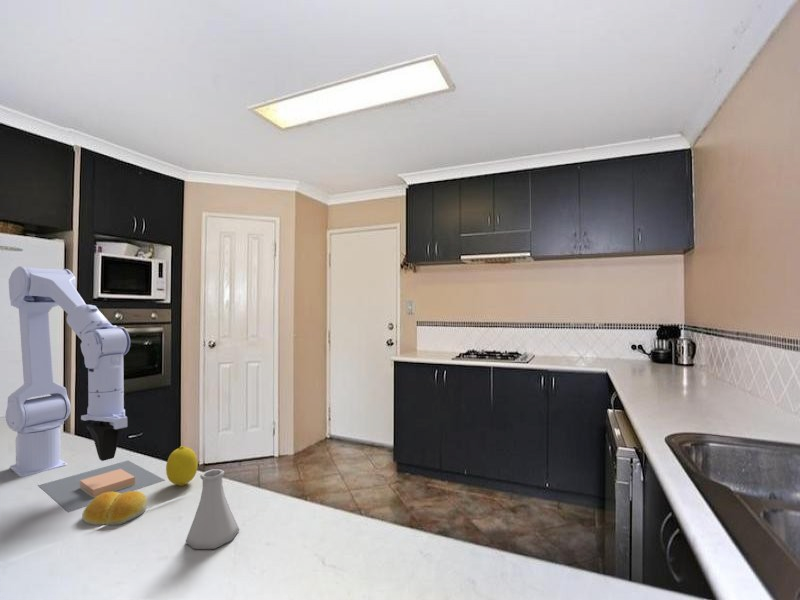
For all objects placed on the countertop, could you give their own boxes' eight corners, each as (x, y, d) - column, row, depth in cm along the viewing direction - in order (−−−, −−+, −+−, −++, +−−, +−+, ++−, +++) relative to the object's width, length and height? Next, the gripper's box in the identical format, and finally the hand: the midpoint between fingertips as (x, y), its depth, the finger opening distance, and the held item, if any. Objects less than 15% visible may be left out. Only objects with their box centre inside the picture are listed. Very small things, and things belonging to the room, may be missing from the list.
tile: (80, 480, 82) (93, 489, 78) (120, 468, 88) (134, 476, 84) (80, 488, 82) (93, 497, 78) (120, 475, 88) (135, 484, 84)
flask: (248, 529, 68) (247, 467, 68) (214, 555, 61) (213, 485, 61) (211, 522, 70) (211, 461, 70) (175, 546, 63) (175, 479, 63)
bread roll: (135, 525, 70) (135, 501, 70) (74, 530, 68) (74, 506, 68) (155, 501, 78) (155, 480, 78) (102, 506, 77) (101, 483, 76)
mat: (38, 487, 84) (37, 485, 84) (128, 462, 97) (128, 460, 97) (68, 514, 73) (68, 512, 73) (165, 482, 86) (165, 480, 86)
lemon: (203, 481, 86) (203, 441, 86) (187, 493, 81) (186, 451, 81) (177, 480, 87) (177, 441, 87) (159, 492, 81) (159, 450, 81)
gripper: (69, 388, 85) (69, 456, 85) (96, 398, 76) (96, 474, 76) (109, 382, 90) (110, 446, 90) (139, 391, 81) (139, 462, 81)
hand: (106, 458), depth 83 cm, fingers closed
